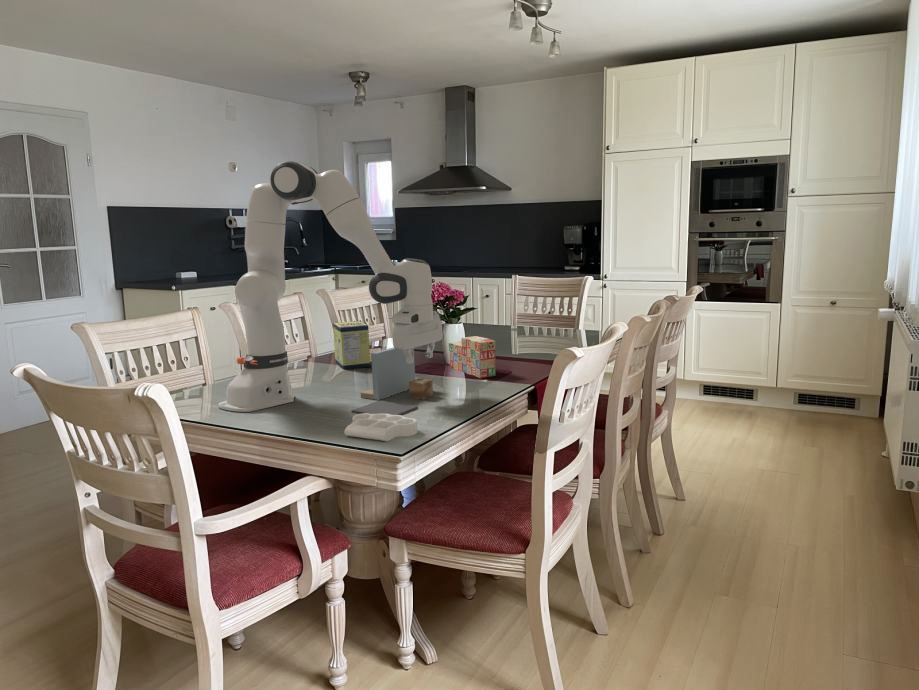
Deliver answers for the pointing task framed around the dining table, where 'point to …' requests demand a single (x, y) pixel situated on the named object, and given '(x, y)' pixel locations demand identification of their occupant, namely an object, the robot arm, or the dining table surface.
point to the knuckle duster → (381, 426)
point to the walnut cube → (421, 388)
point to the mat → (385, 408)
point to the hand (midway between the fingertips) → (419, 360)
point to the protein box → (351, 344)
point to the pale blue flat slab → (389, 373)
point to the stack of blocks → (473, 356)
